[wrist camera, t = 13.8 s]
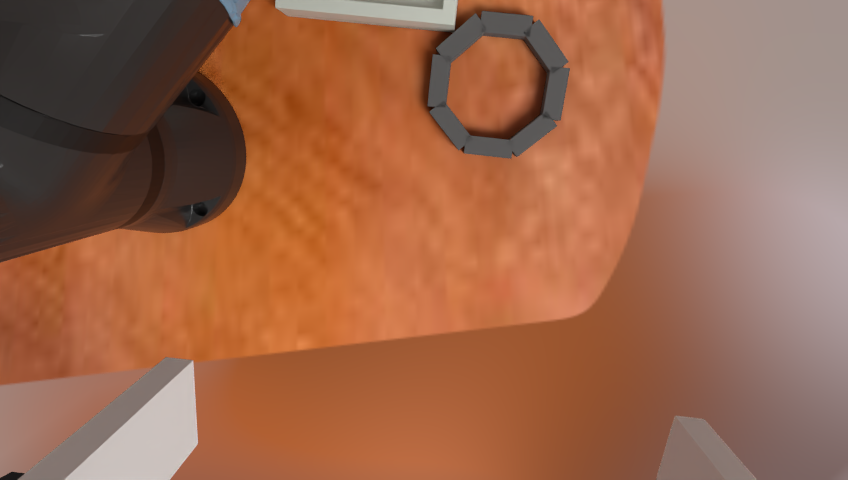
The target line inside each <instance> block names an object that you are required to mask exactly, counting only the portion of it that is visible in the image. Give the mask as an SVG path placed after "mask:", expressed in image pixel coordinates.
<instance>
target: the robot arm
mask: <svg viewBox="0 0 848 480" xmlns="http://www.w3.org/2000/svg"><path fill="white" fill-rule="evenodd" d="M249 1H250V0H0V262H3V261H7V260H10V259H14V258H17V257H21V256H24V255H28V254H31V253H35V252H38V251H41V250H45V249H48V248H52V247H55V246H59V245H62V244H66V243H69V242H73V241H76V240H80V239H83V238H87V237H90V236H94V235H97V234H101V233H104V232H108V231H111V230H114V229H118V228H119V229H128V230H136V231H145V232H154V233H172V232H179V231H184V230H187V229H191V228H193V227H196V226H199V225H202V224H204V223H207V222H209V221H211V220H213V219H214V218H216V217H217V216H219V215H220V214H221V213H222V212H223V211H224V210H226V208H227V207H228V206H229V205H230V204H231V203H232V201H233V200H234V198H235V197H236V195H237V193H238V191H239V189H240V187H241V184H242V181H243V177H244V173H245V167H246V147H245V140H244V135H243V131H242V128H241V125H240V123H239V120H238V118H237V116H236V113H235V112H234V110H233V108H232V106H231V105H230V103H229V102H228V100H227V99H226V97H225V96H224V95H223V94H222V92H221V91H220V90H219V89H218V88H217V87H216V86H215V85H214V84H213V83H212V82H211V81H210V80H208V79H207V78H206V77H204V76H203V75H202V74H200V73H199V72H197V71H198V70H199V69H200V68H201V66H202V65H203V64H204V62H205V61H206V60H207V59H208V57H209V56H210V55H211V54H212V52H213V51H214V50H215V48H216V47H217V46H218V45H219V43H220V42H221V41H222V40H223V38H224V37H225V36H226V34H227V33H228V32H229V31H230V29H231V28H232V27H233V25H234V26H235V27H237V26H238V25H239V24H240V22H241V13H242V11H243V10H244V9H245V7H246V6H247V4H248V3H249ZM197 444H198V436H197V418H196V402H195V384H194V366H193V360H186V359H177V358H168V357H166V358H164V359H163V360H162V361H161V362H160V363H158V364H157V365H156V366H155V367H154V368H152V369H151V370H150V371H149V372H148V373H146V374H145V375H144V376H143V377H141V378H140V379H139V380H138V381H137V382H135V383H134V384H133V385H132V386H131V387H130V388H128V389H127V390H126V391H124V392H123V393H122V394H121V395H120V396H118V397H117V398H116V399H115V400H114V401H112V402H111V403H110V404H109V405H107V406H106V407H105V408H104V409H103V410H101V411H100V412H99V413H98V414H97V415H95V416H94V417H93V418H92V419H91V420H89V421H88V422H87V423H86V424H85V425H83V426H82V427H81V428H80V429H78V430H77V431H76V432H75V433H74V434H72V435H71V436H70V437H69V438H67V439H66V440H65V441H64V442H63V443H61V444H60V445H59V446H58V447H57V448H55V449H54V450H53V451H52V452H50V453H49V454H48V455H47V456H46V457H45V458H43V459H42V460H41V461H40V462H38V463H37V464H36V465H35V466H34V467H32V468H31V469H30V470H29V471H28V472H26V473H17V472H11V473H9V474H7V475H5V476H3V477H1V478H0V480H170V479H171V477H172V476H173V475H174V474H175V472H176V471H177V470H178V468H179V467H180V466H181V465H182V463H183V462H184V461H185V460H186V458H187V457H188V456H189V454H190V453H191V452H192V451H193V449H194V448H195V447H196V445H197ZM656 480H757V479H756V478H755V477H754V476H753V475H752V473H751V472H750V471H749V470H748V469H747V468H746V467H745V465H744V464H743V463H742V462H741V461H740V460H739V459H738V458H737V456H736V455H735V454H734V453H733V452H732V451H731V449H730V448H729V447H728V446H727V445H726V444H725V442H723V440H722V439H721V438H720V437H719V436H718V434H717V433H716V432H715V431H714V430H713V429H712V428H711V427H710V425H709V424H708V423H707V422H706V421H705V420H704V419H700V418H691V417H682V416H675V417H674V421H673V424H672V427H671V431H670V434H669V437H668V441H667V444H666V448H665V451H664V455H663V458H662V461H661V465H660V468H659V471H658V475H657V478H656Z"/></svg>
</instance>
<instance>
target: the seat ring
mask: <svg viewBox="0 0 848 480" xmlns="http://www.w3.org/2000/svg"><path fill="white" fill-rule="evenodd" d="M532 21H533V16H529V15H519V14H508V13H498V12H488V11H482V14H481V20H480V18H479V17H478V16H477V14H476V13H475V14H474V15H473V16H472V17H471V18H470V19H468V20H467V21H466V22H465V23H464V24H463V25H462V26H461V27H459V28H458V29H457V30H456V31H455V32H454V33H453V34H451V35H450V36H449V37H448V38H447V39H446V40H445V41H443V42H442V43H441V44H440V45H439V46H438V47H437V48H436V51H437V52H438V54H439V55H435V54H433V57H432V67H431V77H430V86H429V96H428V107H435V108H433V109H432V110H431V111H430V114H431V115H432V116H433V118H434V119H435V120H436V122H437V123H438V124H439V125H440V127H441V128H442V129H443V131H444V132H445V133H446V135H447V136H448V137H449V138H450V140H451V141H452V142H453V144H454V145H455V146H456V147H457V149H458V150H460V149H461V148H462V147H463V146H464V153H466V154H475V155H484V156H493V157H502V158H511V156H512V152H513V154H514V155H515V156H516V157H518V156H519V155H520V154H521V153H523V152H524V151H525V150H527V149H528V148H529V147H531V146H532V145H533V144H534V143H536V142H537V141H538V140H540V139H541V138H542V137H543V136H545V135H546V134H547V133H549V132H550V131H551V130H552V129H554V128H555V127H556V126H557V125H556V124H555V122H554V121H553V120H556V121H558V120H561V115H562V109H563V104H564V98H565V93H566V87H567V82H568V76H569V71H570V68H562V67H563V66H564V65H565V64H566V63H568V60H567V59H566V57H565V56H564V54H563V53H562V52H561V50H560V49H559V47H558V46H557V44H556V43H555V41H554V40H553V39H552V37H551V36H550V34H549V33H548V31H547V30H546V29H545V27H544V26H543V24H542V23H541V21H540V20H538V21H536V22H535V23H534V24H533V25H532ZM482 36H492V37H502V38H512V39H522V40H524V41H525V43H526V44H527V45H528V47H529V48H530V50H531V51H532V52H533V54H534V55H535V57H536V58H537V60H538V61H539V62H540V64H541V65H542V67H543V68H544V69H545V71H546V72H547V76H546V82H545V88H544V94H543V100H542V106H541V112H540V115H539V116H538V117H536V118H535V119H534V120H533V121H531V122H530V123H529V124H527V125H526V126H525V127H524V128H522V129H521V130H520V131H519V132H517V133H516V134H515V135H514V136H512V137H511V138H510V139H508V140H506V139H497V138H488V137H479V136H470V134H469V133H468V132H467V131H466V129H465V128H464V127H463V125H462V124H461V123H460V121H459V120H458V119H457V117H456V116H455V115H454V113H453V112H452V111H451V110H450V108H449V107H448V106H447V104H446V102H447V93H448V84H449V75H450V67H451V63H452V62H453V61H454V60H455V59H456V58H457V57H459V56H460V55H461V54H462V53H463V52H464V51H465V50H467V49H468V48H469V47H470V46H471V45H472V44H474V43H475V42H476V41H477V40H478V39H479V38H481V37H482Z"/></svg>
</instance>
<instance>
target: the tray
mask: <svg viewBox="0 0 848 480" xmlns="http://www.w3.org/2000/svg"><path fill="white" fill-rule="evenodd" d="M457 5H458V0H276V2H275V8H277V9H278V10H280V11H281V12H283V13H284V14H285V15H287V16H291V17H302V18H312V19H322V20H332V21H342V22H352V23H362V24H372V25H382V26H392V27H402V28H412V29H422V30H432V31H442V32H452V33H454V32H455V23H456V14H457Z"/></svg>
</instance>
